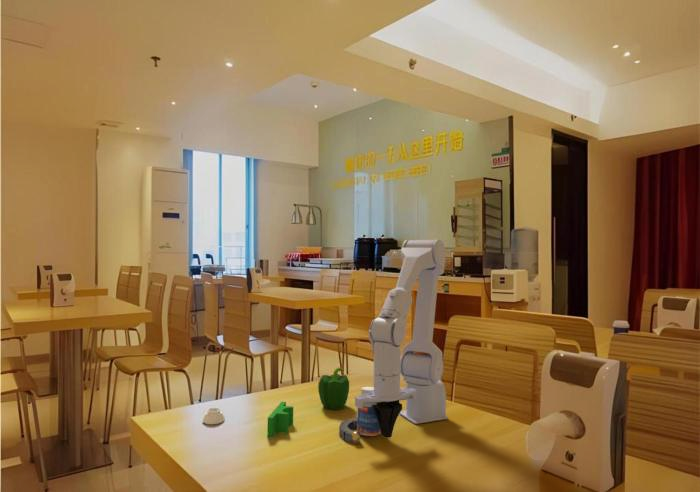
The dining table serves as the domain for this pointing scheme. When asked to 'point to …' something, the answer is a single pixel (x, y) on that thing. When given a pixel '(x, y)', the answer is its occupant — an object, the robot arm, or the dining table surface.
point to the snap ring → (349, 431)
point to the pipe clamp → (280, 420)
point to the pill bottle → (367, 418)
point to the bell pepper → (334, 390)
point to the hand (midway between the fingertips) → (386, 436)
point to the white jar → (213, 416)
